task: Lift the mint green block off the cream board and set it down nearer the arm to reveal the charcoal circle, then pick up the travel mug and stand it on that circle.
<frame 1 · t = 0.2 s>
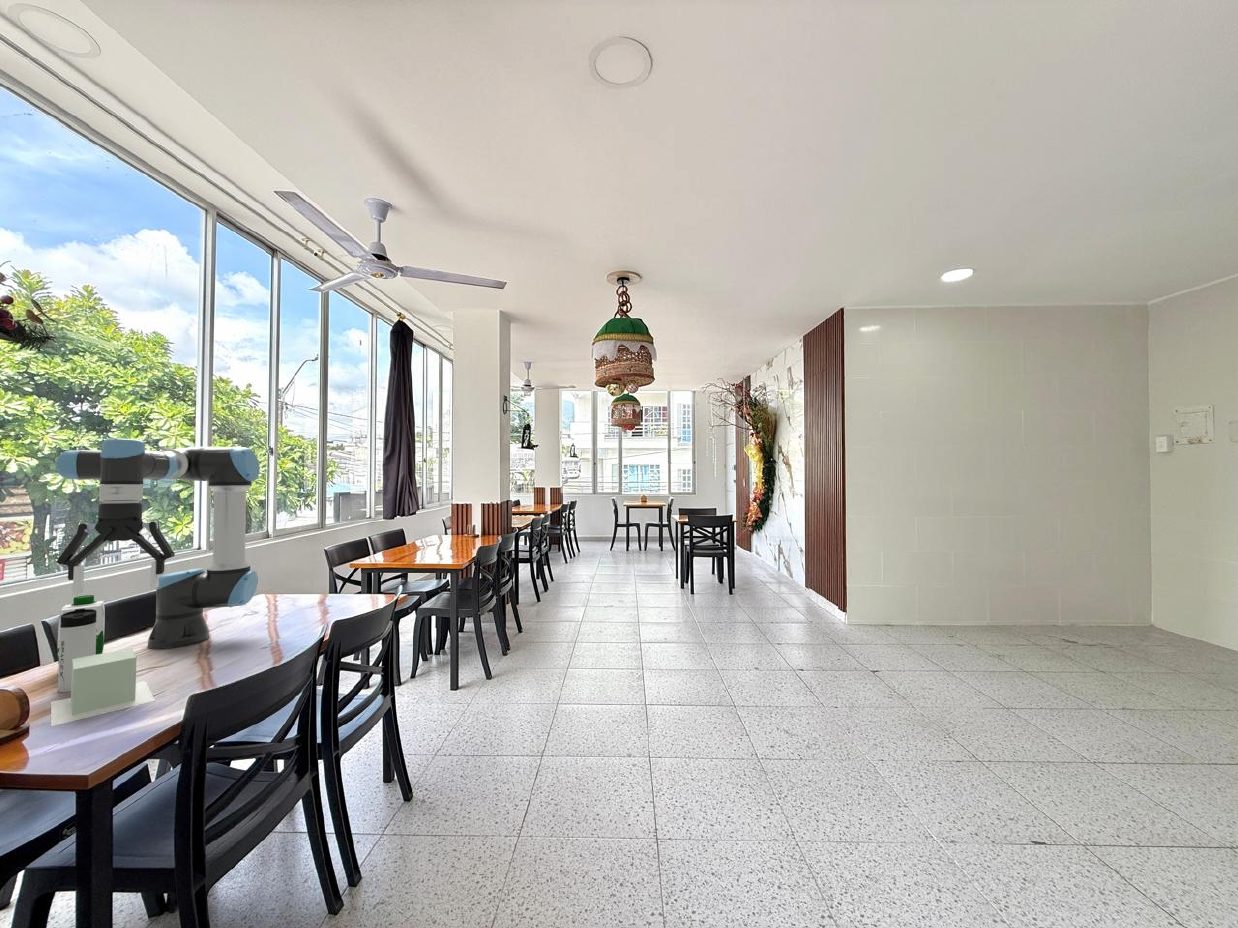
hand: (117, 590, 119), 26 cm above the table, tool pointing down, fingers open, 13 cm apart
milk carton: (80, 670, 139), on the table
board: (102, 705, 116), on the table
mint green block: (103, 701, 116), point 1 cm above the table, touching board
travel mug: (76, 691, 124), on the table
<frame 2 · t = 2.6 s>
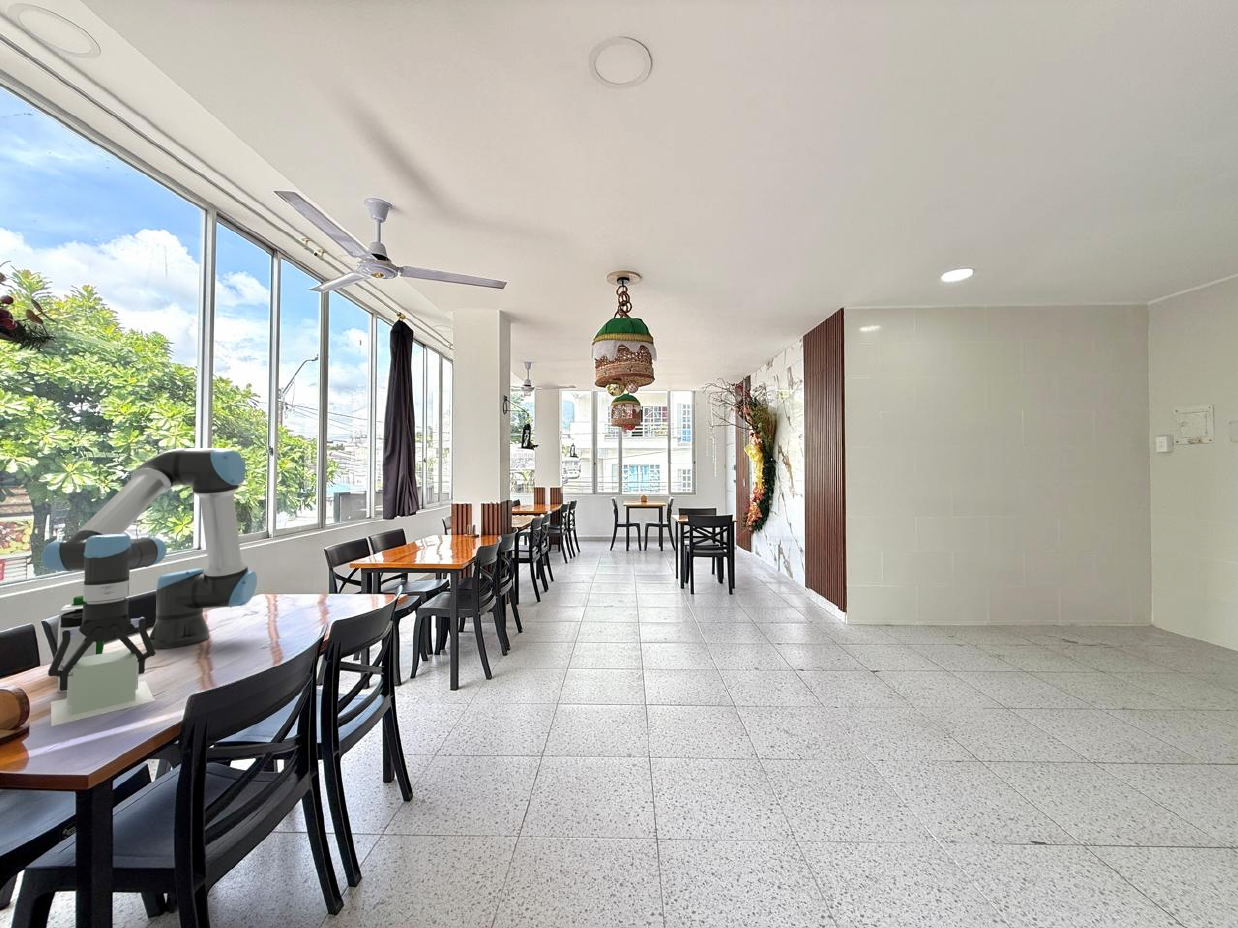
hand: (103, 695, 116), 2 cm above the table, tool pointing down, fingers closed on mint green block, 10 cm apart
mint green block: (103, 701, 116), point 1 cm above the table, touching board, gripper
everything else where it was.
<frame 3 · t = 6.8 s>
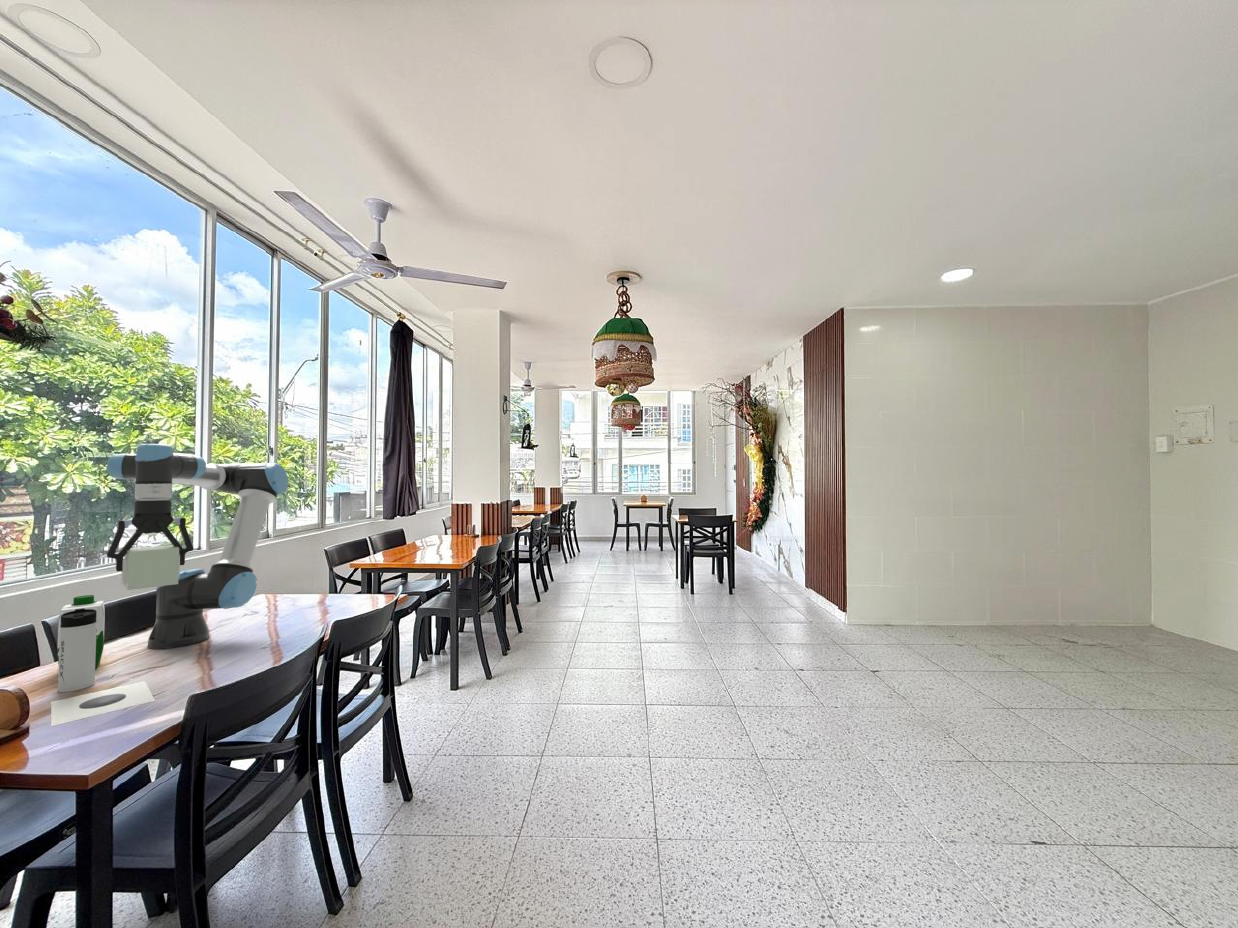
hand: (151, 580, 136), 25 cm above the table, tool pointing down, fingers closed on mint green block, 10 cm apart
mint green block: (151, 584, 136), point 24 cm above the table, touching gripper
everything else where it was.
when the fingers open (3 cm above the table, at t = 10.8 s): mint green block drops 1 cm, on the table.
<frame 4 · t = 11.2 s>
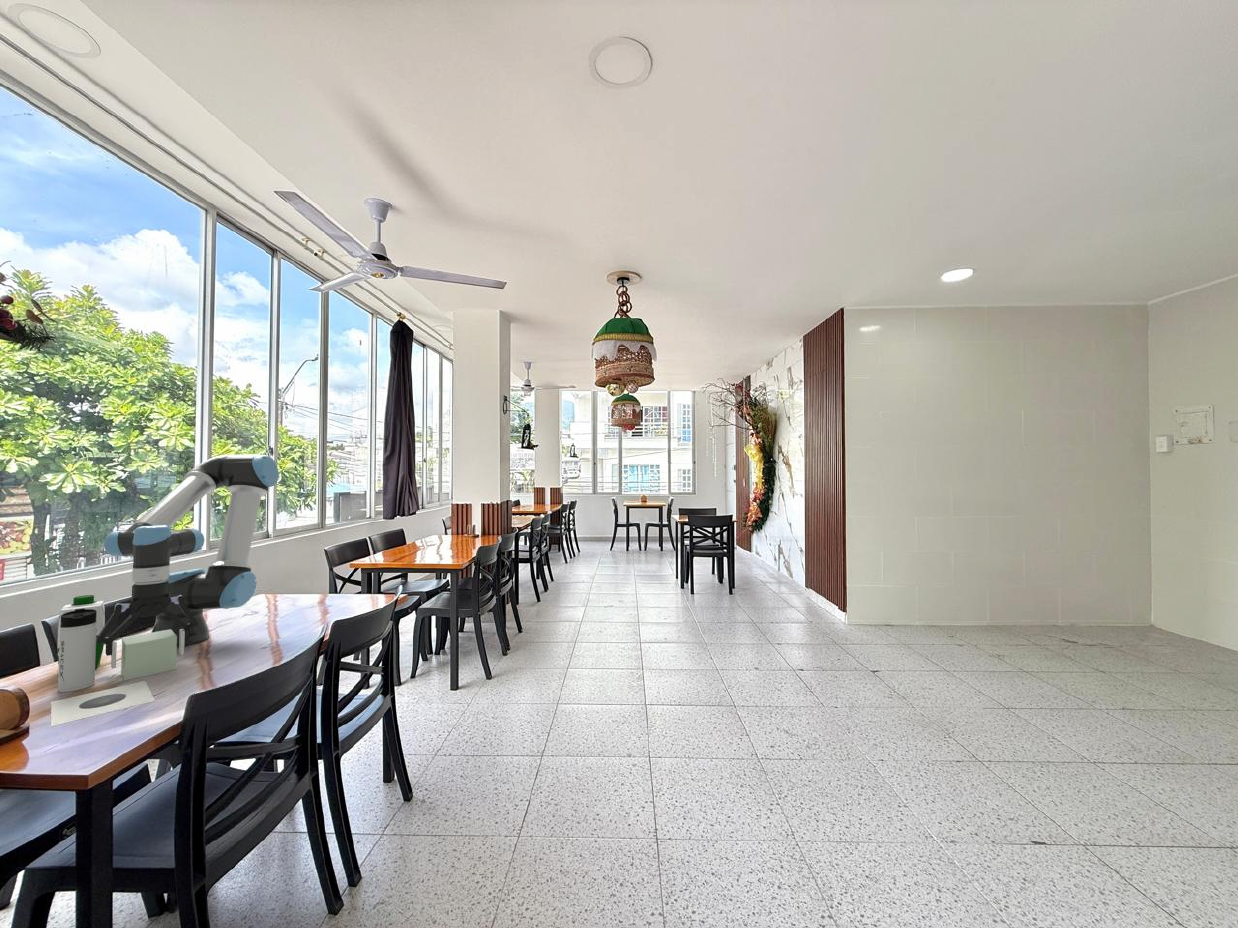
hand: (148, 659, 135), 4 cm above the table, tool pointing down, fingers open, 13 cm apart
mint green block: (148, 673, 135), on the table
everything else where it was.
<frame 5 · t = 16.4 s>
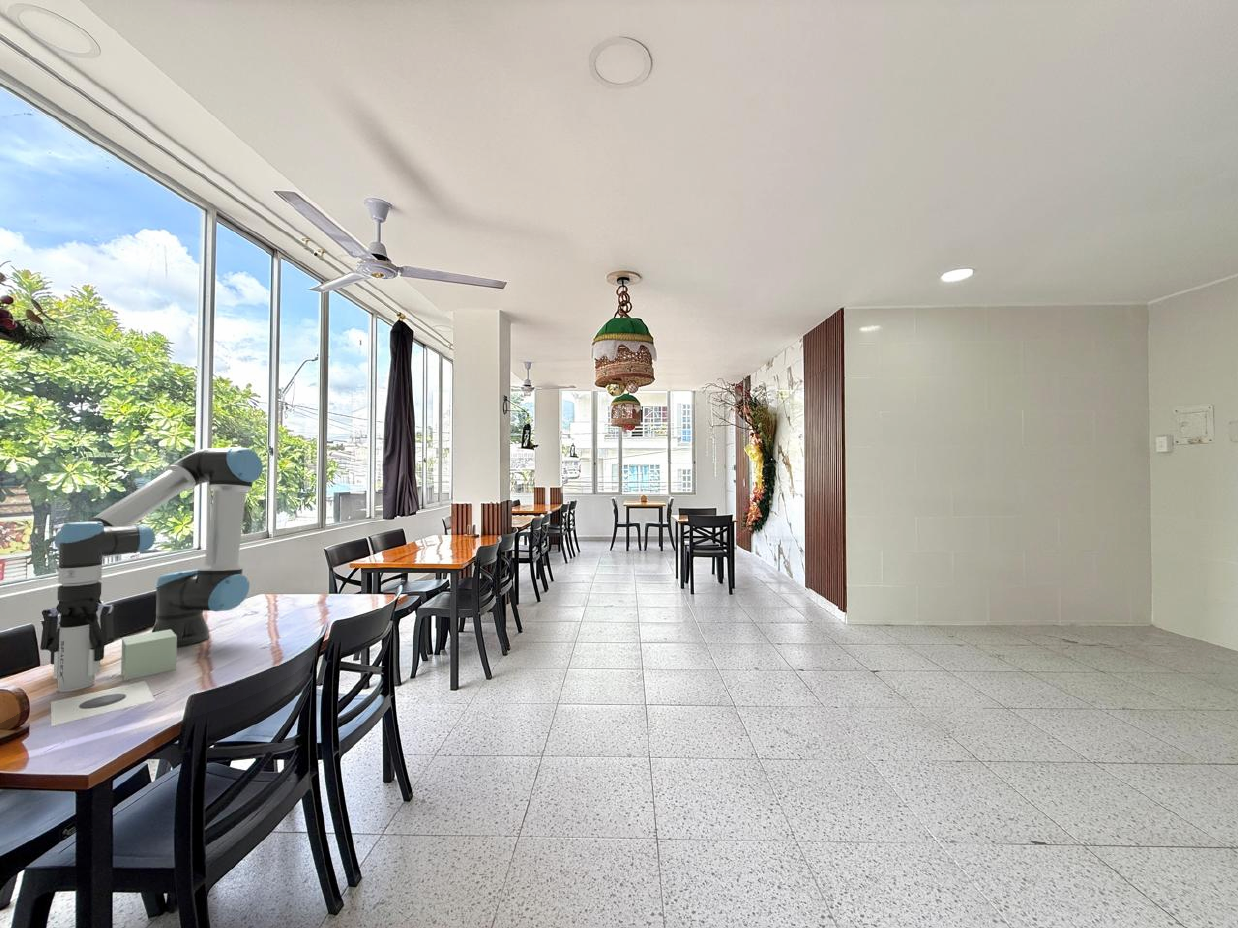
hand: (77, 675, 124), 4 cm above the table, tool pointing down, fingers closed on travel mug, 6 cm apart
travel mug: (76, 691, 124), on the table, touching gripper
everything else where it was.
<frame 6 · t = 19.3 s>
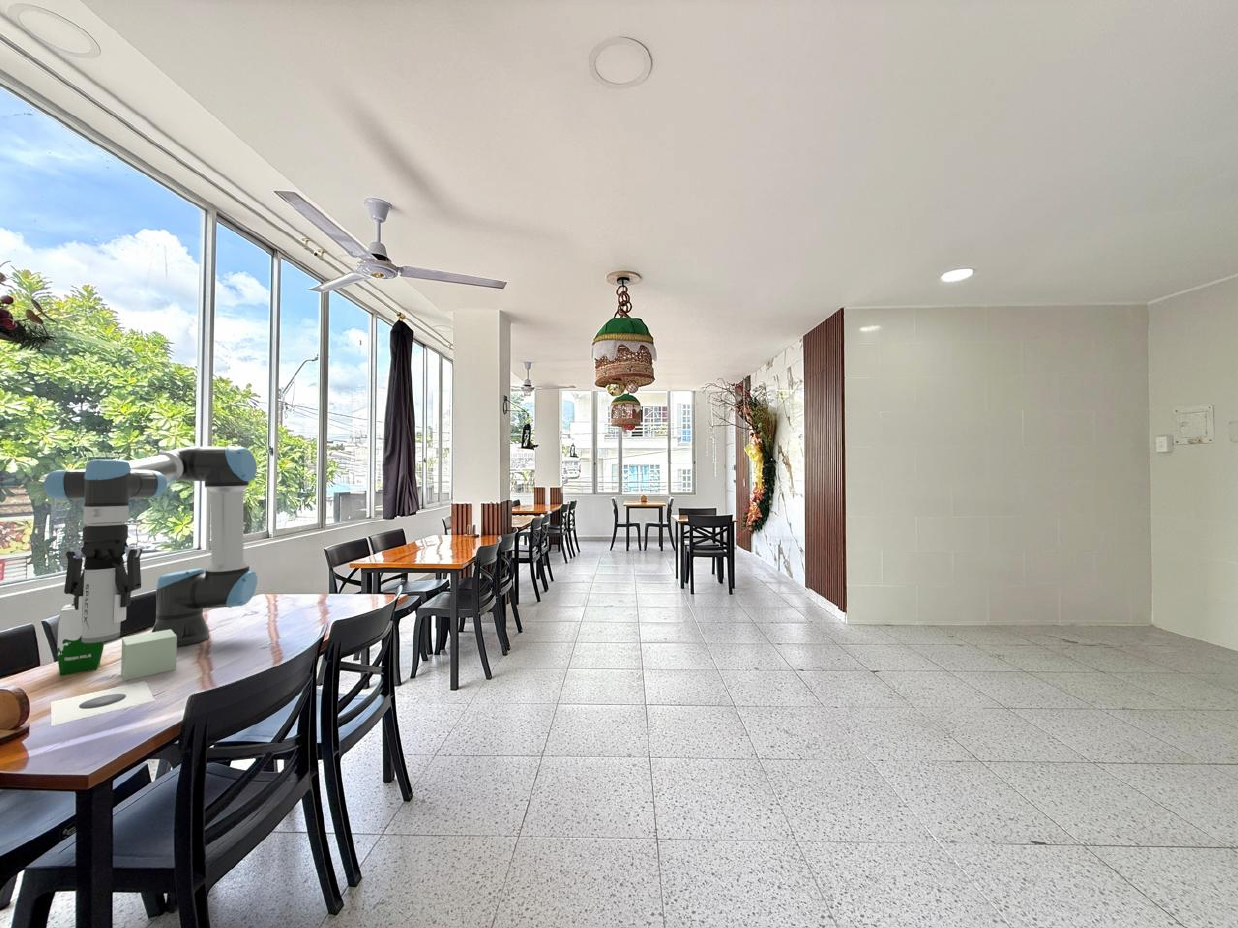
hand: (102, 622, 117), 19 cm above the table, tool pointing down, fingers closed on travel mug, 6 cm apart
travel mug: (101, 639, 116), point 15 cm above the table, touching gripper
everything else where it was.
when the fingers open (6 cm above the table, at t = 22.1 s): travel mug drops 1 cm, resting on board.
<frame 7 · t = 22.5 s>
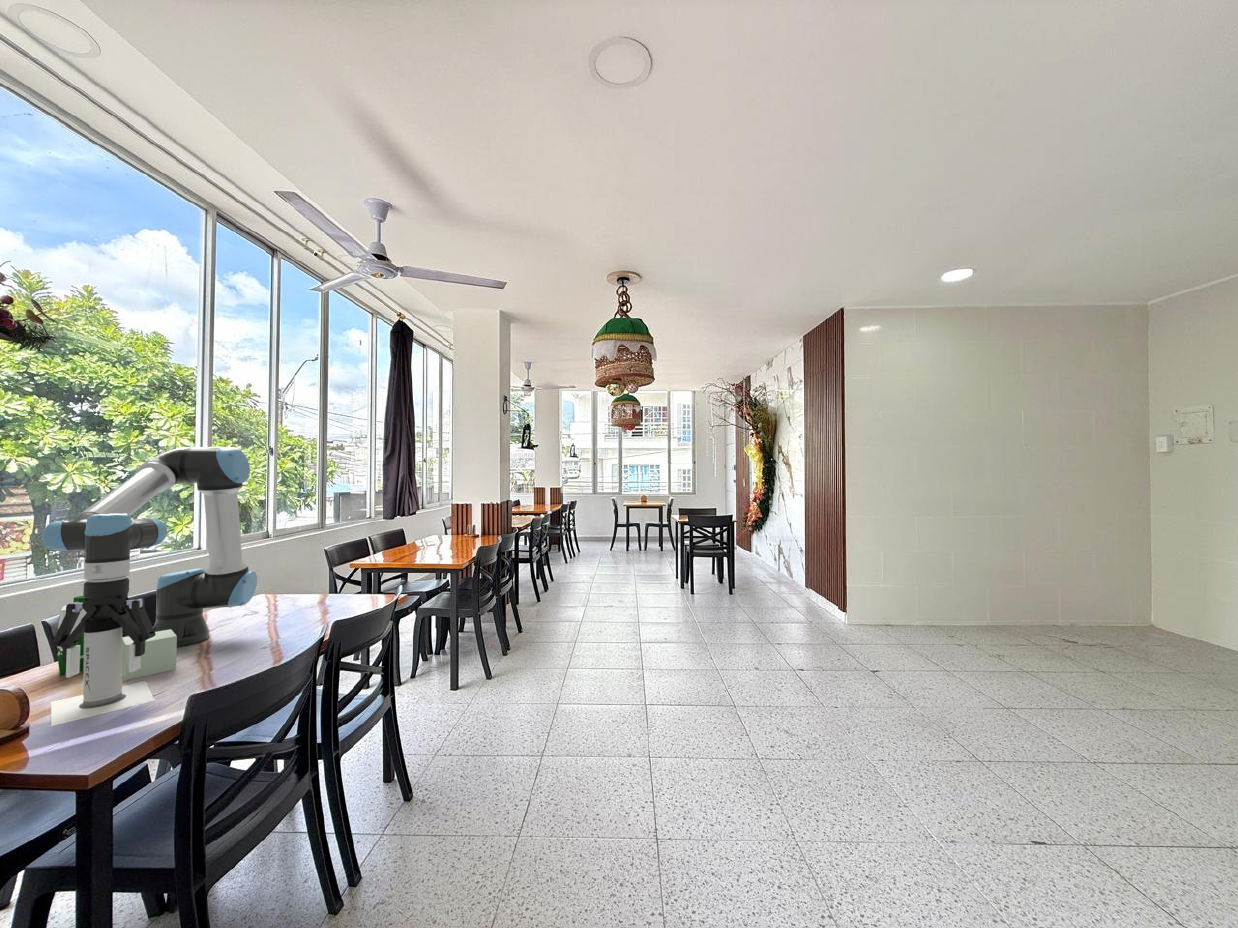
hand: (104, 672, 116), 8 cm above the table, tool pointing down, fingers open, 11 cm apart
travel mug: (102, 701, 116), point 1 cm above the table, touching board
everything else where it was.
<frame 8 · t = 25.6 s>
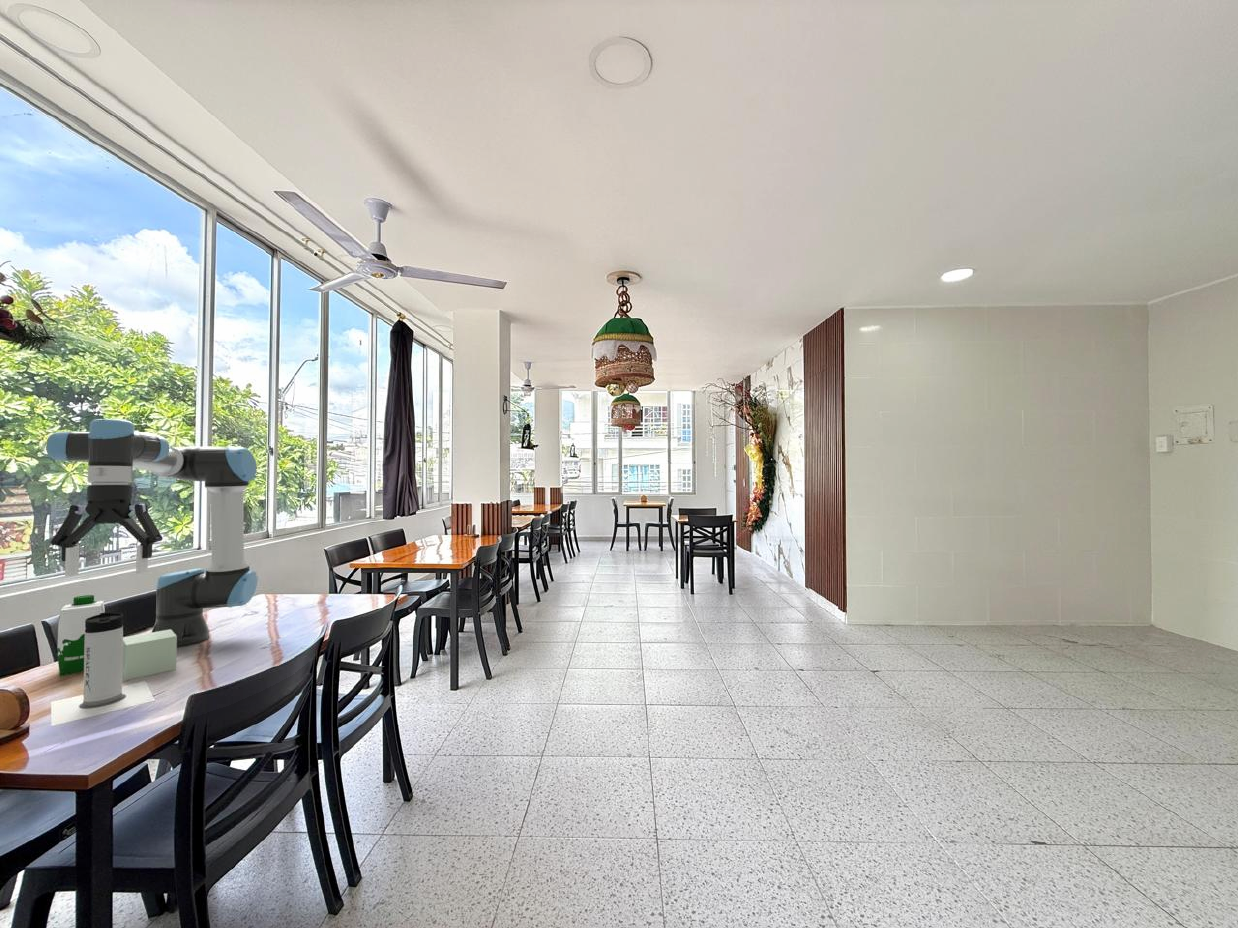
hand: (107, 573, 117), 31 cm above the table, tool pointing down, fingers open, 13 cm apart
nothing on the table moved.
at the end: travel mug 0.0 cm from the board (horizontally); travel mug tilted 1°; mint green block moved 21.2 cm from its start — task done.
